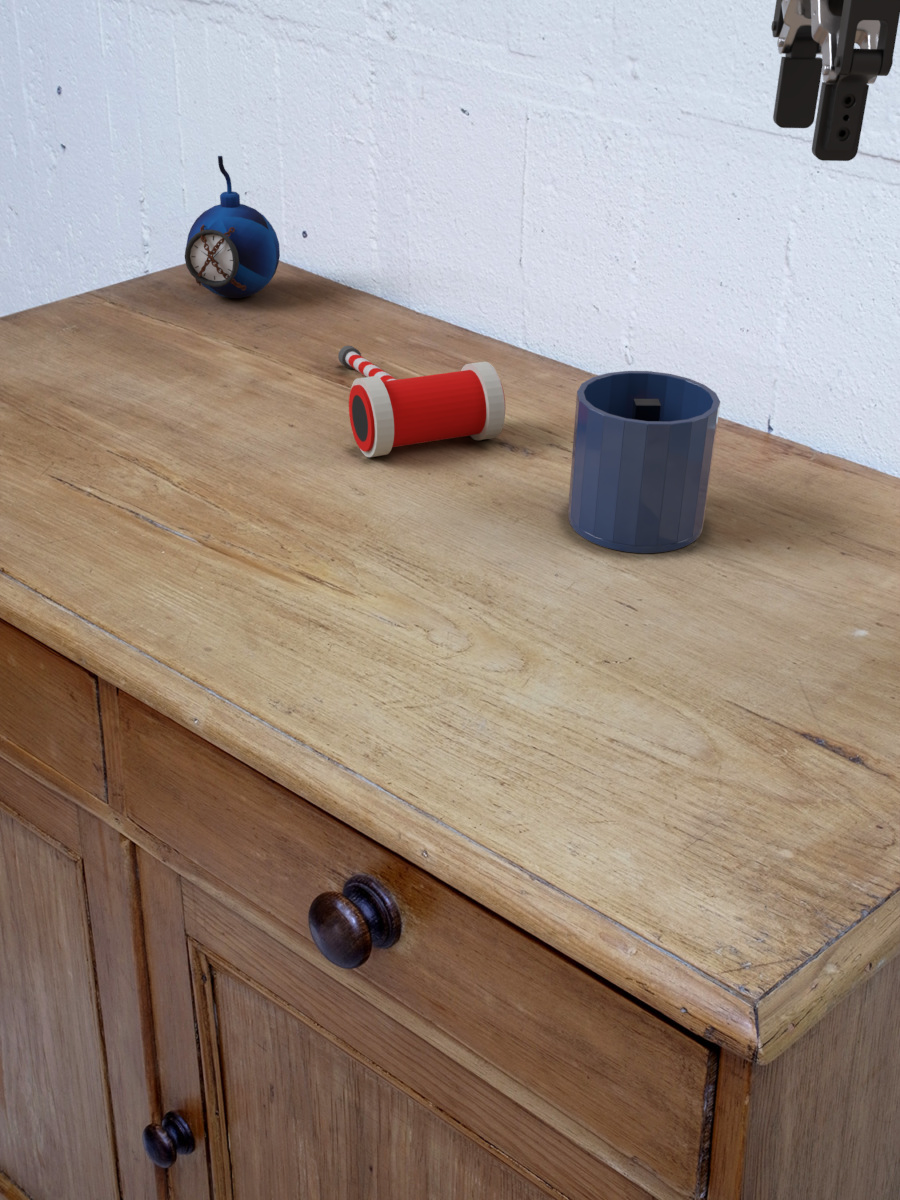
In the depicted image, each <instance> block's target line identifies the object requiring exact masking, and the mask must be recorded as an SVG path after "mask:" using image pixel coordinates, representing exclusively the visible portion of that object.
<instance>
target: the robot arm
mask: <svg viewBox="0 0 900 1200" xmlns="http://www.w3.org/2000/svg"><path fill="white" fill-rule="evenodd" d="M899 21H900V0H775V8H774V14H773V20H772V22H771V26H770V27H771V31H772V32H771V33H772V38H777V42H776V43H777V44H776V45H777V50H778V54H780V55H784V56H781V59H780V64H779V73H778V78H777V79H778V80H777V85H776V86H777V87H776V93H775V100H774V108H773V115H772V120H773V122H774V124H775V125H777V126H778V127H779V128H781V129H807V128H810V127H811V126H812V125H813V124H814V121H815V124H814V131H813V137H812V143H811V144H812V145H811V152H812V154H813V156H814V157H815V158H817V159H818V160H819V161H823V162H824V161H825V162H826V161H827V162H831V161H832V162H850V161H851V160H853V159H855V157H856V156H857V154H858V151H859V145H860V140H861V134H862V128H863V122H864V118H865V111H866V105H867V99H868V95H869V89H870V85H873V84H875V83H876V81H877V78H878V77H887V76H888V75H889V74H890V72H891V69H892V67H893V61H894V60H893V58H894V53H895V46H896V41H897V36H898V35H897V34H898V28H899ZM856 44H857V45H858V47H859V48H855V45H856ZM817 55H819V57H817ZM820 56H821V57H820ZM821 79H822V80H823V81H821ZM820 84H821V88H820ZM819 91H820V92H819ZM818 98H819V100H818ZM817 104H818V106H817ZM816 111H817V112H816Z"/></svg>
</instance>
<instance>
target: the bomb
mask: <svg viewBox="0 0 900 1200" xmlns="http://www.w3.org/2000/svg"><path fill="white" fill-rule="evenodd" d="M217 163H218V169H219V171H220V173H221V174H222V176H223V177H224V179H225V183H226V191H223V192H221V193H220V195H219V202H220V204H215V205H213V206H211V207H210V208H208V209H206V210H204V211H203V212H202V213H201V214H200V215H199V216H198V217H197V218H196V219H195V220H194V222H193V224H192V225H191V227H190V230H189V232H188V235H187V238H186V239H187V240H186V244H185V245H186V246H185V251H184V262H185V266H186V268H187V270H188V272H189V273H190V275H191V276H192V277H193V278H194V279H195V281H196V283H197V284H198V285H199V286H202V287H204V288H205V289H207V290H208V291H209V292H211V293H212V294H215V295H217V296H220V297H223V298H228V299H243V298H247V297H251V296H253V295H255V294H256V293H258V292H261V291H262V290H263V289H264V288H265V287H267V285H268V284H269V283H271V281H272V279H273V278H274V276H275V275H276V272H277V269H278V266H279V263H280V258H281V257H280V256H281V253H280V250H281V249H280V242H279V238H278V234H277V232H276V231H275V229H274V226H273V225H272V224H271V222H270V221H269V220H268V219H267V217H266V216H265V215H264V214H262V213H261V212H259V211H258V210H257V209H256V208H255V207H254V208H253V207H251V206H249V205H247V204H243V203H241V197H240V196H241V195H240V193H238V192H237V191H233V190H232V187H233V186H232V179H231V176H230V174H229V173H228V171H227V169H226V167H225V165H224V158H223V155H218V156H217Z"/></svg>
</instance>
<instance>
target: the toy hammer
mask: <svg viewBox="0 0 900 1200" xmlns="http://www.w3.org/2000/svg"><path fill="white" fill-rule="evenodd" d="M337 357H338V361H339V362H340V363H341V365H342V366H344V367H345V368H347V369H352V370H353V369H354V370H356V371H357V372H359V373H360V374H361V375H363V376H364V377H358V378H355V379H354V380H353V382H352V384H351V387H350V390H349V391H350V392H349V395H348V415H349V416H348V417H349V422H350V427H351V431H352V435H353V437H354V440H355V443H356V445H357V447H358V448H359V449H360V451H361V453H362V454H363V455H364V456H365V457H367V458H374V457H381V456H387V455H388V454H390V453H391V451H392V449H393V448H396V447H403V446H410V445H416V444H423V443H429V442H435V441H442V440H449V439H455V438H463V437H467V436H470V437H471V438H472V439H473V440H475V441H482V440H489V439H495V438H497V437H499V436H500V434H501V432H502V430H503V428H504V424H505V418H506V397H505V396H506V395H505V391H504V387H503V383H502V381H501V379H500V376H499V374H498V372H497V370H496V368H495V367H494V366H493V365H492V364H491V363H490V362H488V361H478V362H471V363H466V364H464V365H463V367H462V368H461V370H458V371H452V372H451V371H450V372H444V373H436V374H429V375H422V376H413V377H407V378H399V379H397V378H396V377H394V376H393V375H391V374H389V373H388V372H387V371H385V370H383V369H382V368H380V367H379V366H377V365H376V364H374V363H372V362H371V361H369V360H368V359H366V358H365V357H363V356H362V353H361V352H360V351H359V349H357V347H356V348H355V347H354V346H353V345H344V346H343V347H342V348H340V350H339V351H338V354H337Z"/></svg>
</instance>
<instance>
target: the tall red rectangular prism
mask: <svg viewBox="0 0 900 1200" xmlns="http://www.w3.org/2000/svg"><path fill="white" fill-rule="evenodd" d="M660 411H661V404H660V402H659V400H658V399H634V401H633V411H632V419H634V420H642V421H659V420H660Z"/></svg>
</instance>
